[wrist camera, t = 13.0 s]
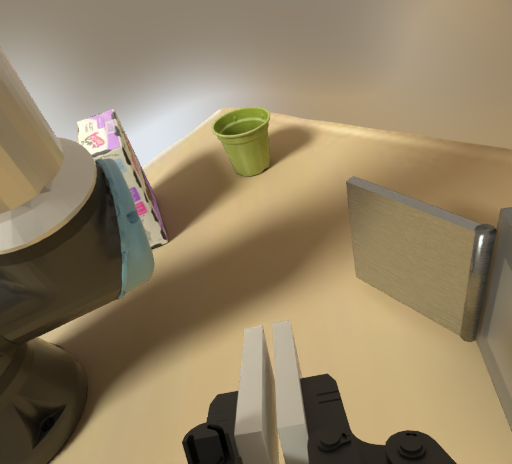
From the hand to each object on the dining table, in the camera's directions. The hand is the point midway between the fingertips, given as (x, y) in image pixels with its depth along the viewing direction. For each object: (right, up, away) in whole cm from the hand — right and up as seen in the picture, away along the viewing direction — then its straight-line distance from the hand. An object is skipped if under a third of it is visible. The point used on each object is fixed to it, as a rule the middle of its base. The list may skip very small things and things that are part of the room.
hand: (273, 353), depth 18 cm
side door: (+15, -2, +25) cm, 30 cm away
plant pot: (-1, +16, +55) cm, 57 cm away
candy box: (-18, +6, +49) cm, 52 cm away
